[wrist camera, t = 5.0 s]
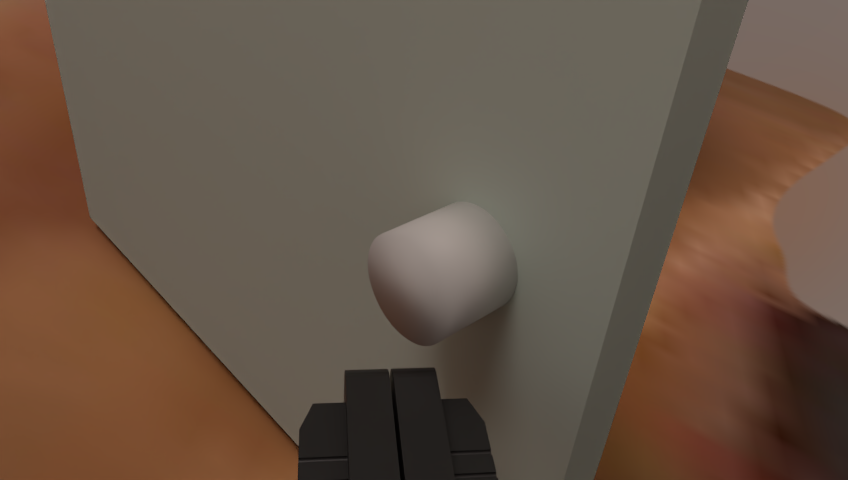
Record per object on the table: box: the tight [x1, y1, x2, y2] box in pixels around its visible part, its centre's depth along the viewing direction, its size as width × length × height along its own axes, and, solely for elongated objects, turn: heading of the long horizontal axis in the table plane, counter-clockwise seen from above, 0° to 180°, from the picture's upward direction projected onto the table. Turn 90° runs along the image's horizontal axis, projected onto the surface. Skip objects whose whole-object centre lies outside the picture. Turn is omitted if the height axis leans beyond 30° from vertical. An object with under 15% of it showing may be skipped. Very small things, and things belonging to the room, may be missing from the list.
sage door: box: [45, 0, 748, 480], centre depth 19 cm, size 3×24×19 cm, turn 42°
